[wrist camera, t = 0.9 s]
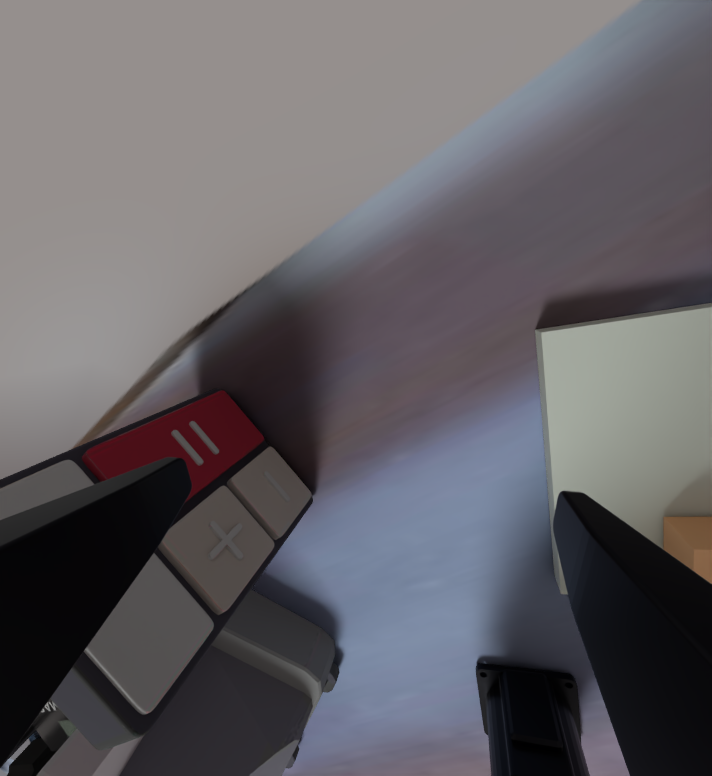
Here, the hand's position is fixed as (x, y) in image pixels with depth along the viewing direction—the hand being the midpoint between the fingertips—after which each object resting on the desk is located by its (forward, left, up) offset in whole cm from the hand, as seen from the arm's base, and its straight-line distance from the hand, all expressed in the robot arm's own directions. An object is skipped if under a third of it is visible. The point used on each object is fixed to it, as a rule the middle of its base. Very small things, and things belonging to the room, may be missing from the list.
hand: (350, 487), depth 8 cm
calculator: (-5, +13, -14) cm, 20 cm away
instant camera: (-26, +22, -15) cm, 37 cm away
